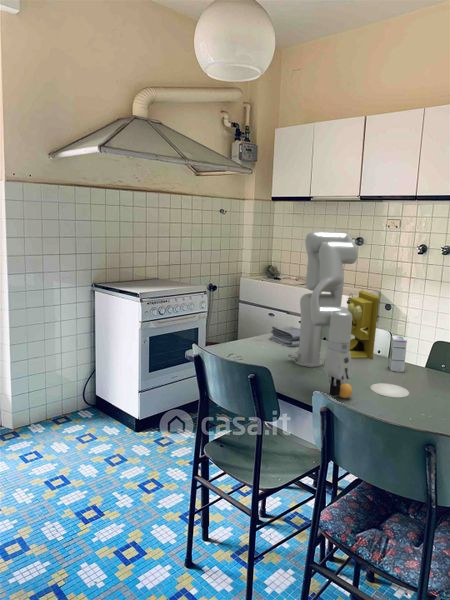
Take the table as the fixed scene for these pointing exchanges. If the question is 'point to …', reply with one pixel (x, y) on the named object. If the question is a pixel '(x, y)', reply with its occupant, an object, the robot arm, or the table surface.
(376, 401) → the table surface
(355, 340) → the vintage telephone
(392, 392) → the disc
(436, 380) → the table surface
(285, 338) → the towel
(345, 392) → the ball
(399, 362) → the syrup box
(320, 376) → the table surface
